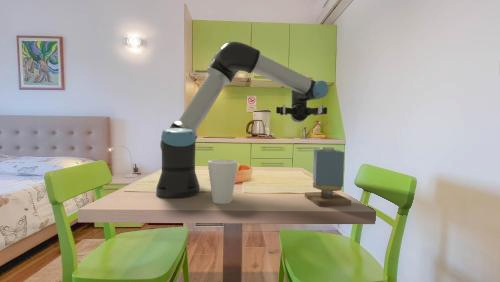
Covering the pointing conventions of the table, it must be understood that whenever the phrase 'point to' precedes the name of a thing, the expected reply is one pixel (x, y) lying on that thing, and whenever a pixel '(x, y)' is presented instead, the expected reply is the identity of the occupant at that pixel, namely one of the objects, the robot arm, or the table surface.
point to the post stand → (327, 193)
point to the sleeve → (328, 168)
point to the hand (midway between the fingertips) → (302, 108)
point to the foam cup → (222, 180)
